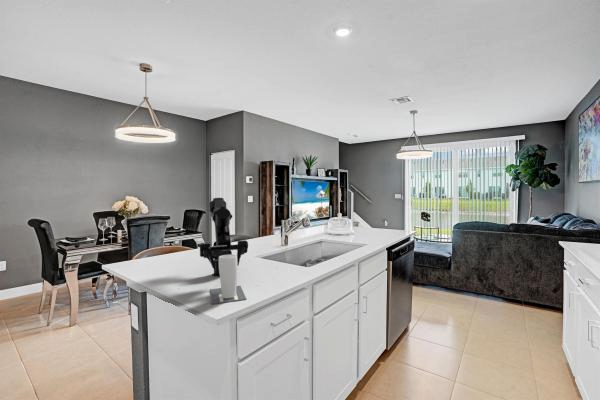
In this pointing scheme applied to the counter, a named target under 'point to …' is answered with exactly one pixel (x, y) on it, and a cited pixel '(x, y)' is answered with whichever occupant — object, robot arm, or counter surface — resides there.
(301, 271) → the counter surface
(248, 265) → the counter surface
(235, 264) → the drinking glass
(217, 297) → the board
